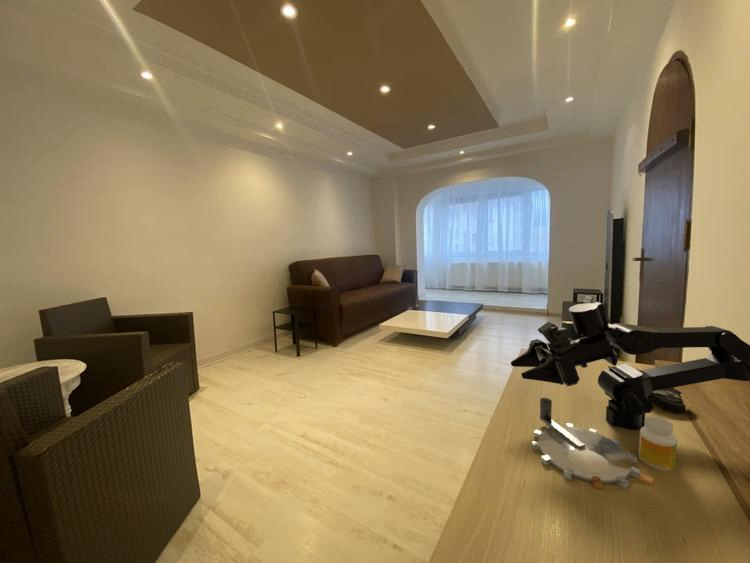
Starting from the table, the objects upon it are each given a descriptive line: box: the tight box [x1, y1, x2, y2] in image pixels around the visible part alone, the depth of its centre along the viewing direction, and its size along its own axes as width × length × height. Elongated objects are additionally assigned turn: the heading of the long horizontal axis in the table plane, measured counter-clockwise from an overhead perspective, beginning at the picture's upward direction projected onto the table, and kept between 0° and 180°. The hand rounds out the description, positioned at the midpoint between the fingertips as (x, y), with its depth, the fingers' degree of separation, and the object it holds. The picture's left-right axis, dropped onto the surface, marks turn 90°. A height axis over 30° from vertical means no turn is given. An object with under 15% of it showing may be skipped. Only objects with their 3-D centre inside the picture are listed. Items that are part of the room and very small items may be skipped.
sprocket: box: [531, 397, 641, 490], centre depth 65 cm, size 18×20×6 cm
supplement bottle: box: [638, 415, 678, 472], centre depth 61 cm, size 5×5×10 cm
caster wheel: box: [636, 367, 687, 415], centre depth 83 cm, size 7×11×10 cm
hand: (516, 369), depth 76 cm, fingers open, 9 cm apart
